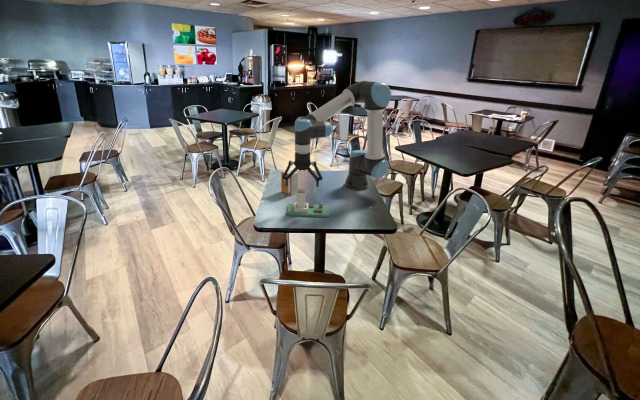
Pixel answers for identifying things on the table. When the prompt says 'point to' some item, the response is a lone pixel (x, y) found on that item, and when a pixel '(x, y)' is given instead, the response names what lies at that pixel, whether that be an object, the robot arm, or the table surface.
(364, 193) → the table surface
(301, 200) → the plug
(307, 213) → the board
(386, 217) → the table surface
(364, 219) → the table surface
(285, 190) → the small box
